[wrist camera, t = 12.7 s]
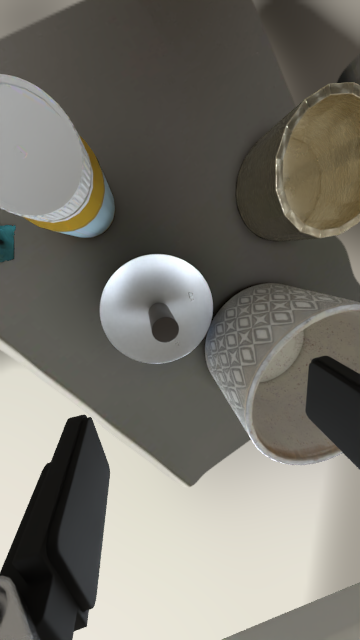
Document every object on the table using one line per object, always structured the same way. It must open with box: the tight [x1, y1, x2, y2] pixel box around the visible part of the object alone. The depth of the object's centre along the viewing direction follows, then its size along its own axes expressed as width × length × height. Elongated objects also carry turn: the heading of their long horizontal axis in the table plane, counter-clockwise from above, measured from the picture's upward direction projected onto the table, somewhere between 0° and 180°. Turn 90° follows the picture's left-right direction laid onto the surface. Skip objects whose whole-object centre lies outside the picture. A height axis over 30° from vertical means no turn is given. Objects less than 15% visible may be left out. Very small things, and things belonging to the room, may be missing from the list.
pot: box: [236, 82, 360, 241], centre depth 25 cm, size 13×13×8 cm
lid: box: [100, 254, 213, 364], centre depth 24 cm, size 14×14×7 cm
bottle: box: [0, 74, 115, 238], centre depth 18 cm, size 7×7×15 cm
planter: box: [205, 283, 360, 465], centre depth 29 cm, size 19×19×14 cm
